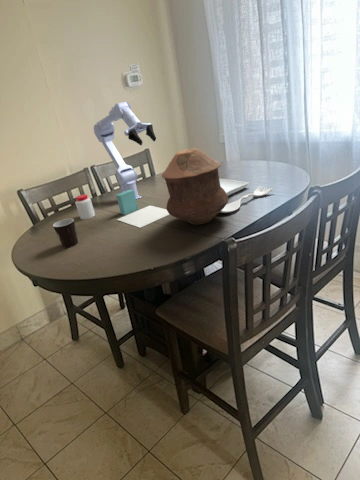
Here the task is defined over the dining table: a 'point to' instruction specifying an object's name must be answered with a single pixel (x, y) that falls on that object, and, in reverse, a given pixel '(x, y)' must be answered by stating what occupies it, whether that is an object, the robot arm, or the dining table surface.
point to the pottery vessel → (194, 187)
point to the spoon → (236, 204)
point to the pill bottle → (84, 207)
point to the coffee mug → (66, 232)
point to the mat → (144, 216)
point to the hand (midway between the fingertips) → (148, 141)
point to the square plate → (232, 185)
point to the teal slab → (127, 202)
